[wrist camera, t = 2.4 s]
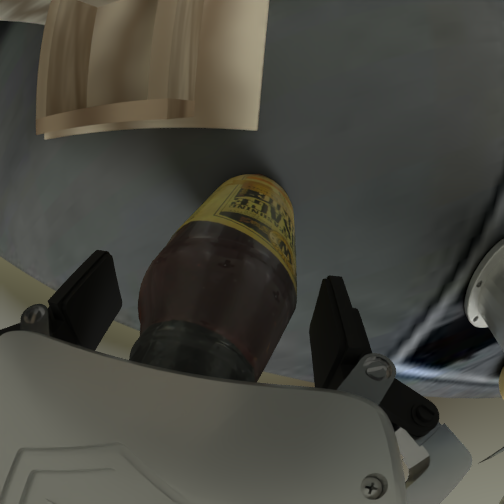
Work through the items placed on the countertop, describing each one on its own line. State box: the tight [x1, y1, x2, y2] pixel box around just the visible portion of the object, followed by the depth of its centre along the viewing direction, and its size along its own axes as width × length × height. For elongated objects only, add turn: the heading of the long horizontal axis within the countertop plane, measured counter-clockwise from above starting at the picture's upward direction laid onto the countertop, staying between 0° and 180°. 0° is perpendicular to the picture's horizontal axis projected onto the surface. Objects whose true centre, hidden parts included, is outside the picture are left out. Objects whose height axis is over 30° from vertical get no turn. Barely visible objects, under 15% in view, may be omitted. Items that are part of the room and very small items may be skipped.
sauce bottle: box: [129, 174, 297, 382], centre depth 13 cm, size 6×6×20 cm
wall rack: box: [0, 0, 269, 140], centre depth 10 cm, size 20×14×12 cm
